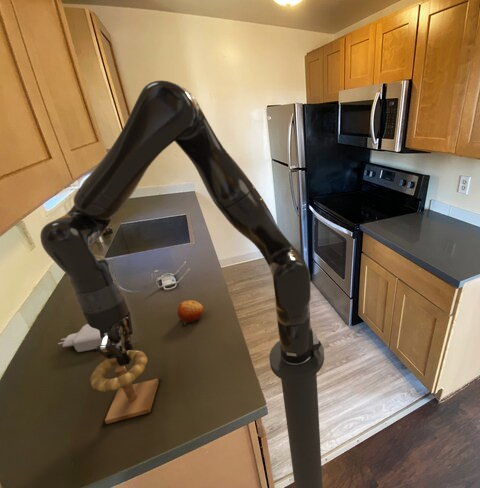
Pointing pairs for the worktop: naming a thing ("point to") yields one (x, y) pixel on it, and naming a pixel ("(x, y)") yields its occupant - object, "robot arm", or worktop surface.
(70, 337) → the charger
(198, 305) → the fruit
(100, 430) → the worktop surface
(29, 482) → the worktop surface
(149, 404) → the wooden peg stand
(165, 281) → the wall mount rack
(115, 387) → the ring
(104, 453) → the worktop surface
